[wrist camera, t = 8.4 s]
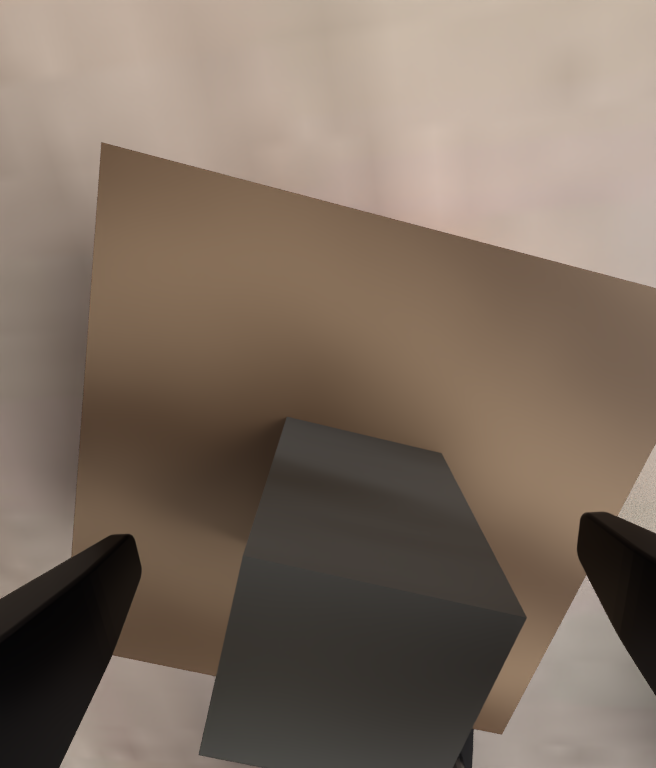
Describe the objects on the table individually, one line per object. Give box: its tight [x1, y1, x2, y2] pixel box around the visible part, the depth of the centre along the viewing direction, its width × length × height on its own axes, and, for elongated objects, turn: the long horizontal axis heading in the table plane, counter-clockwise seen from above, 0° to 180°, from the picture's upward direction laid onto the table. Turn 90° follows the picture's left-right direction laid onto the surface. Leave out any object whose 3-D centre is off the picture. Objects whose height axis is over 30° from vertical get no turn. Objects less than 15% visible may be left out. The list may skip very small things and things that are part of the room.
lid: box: [71, 142, 656, 768], centre depth 9 cm, size 14×14×6 cm
